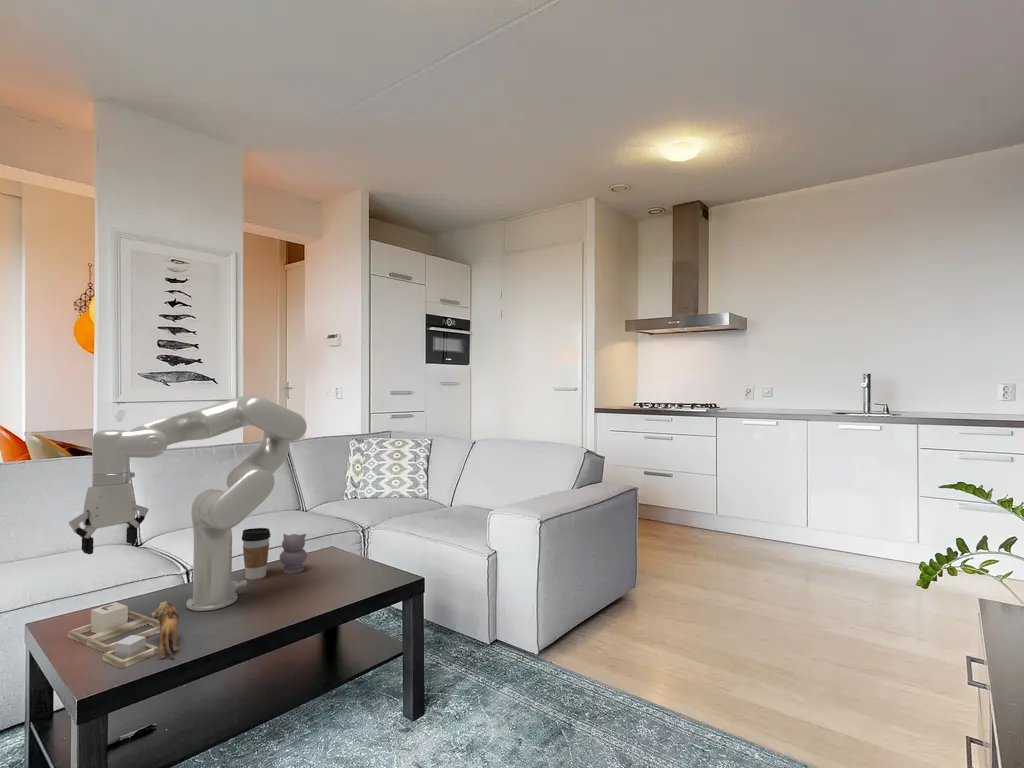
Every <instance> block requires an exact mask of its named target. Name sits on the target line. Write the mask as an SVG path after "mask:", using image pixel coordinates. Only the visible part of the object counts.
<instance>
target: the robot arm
mask: <svg viewBox="0 0 1024 768" xmlns="http://www.w3.org/2000/svg"><path fill="white" fill-rule="evenodd" d="M247 426H252V427H256V428H257V429H259V430H261V431H263V439H262V441H261V443H260V444H259V446H258V447H257V448H256V449H255V450H254V451H253V452H252V453H250V455H249V456H247V457H246V458H244V460H242V461H241V462H240V463H239V464H238V465H236V467H234V468H233V469H231V471H230V472H229V473H228V474H227V478H226V485H227V489H226V490H225V491H224V490H221V489H214V488H211V489H207V490H204V491H202V492H200V493H199V494H198V495H197V496H196V497H195V499H194V500H193V503H192V505H191V522H192V528H193V567H192V568H193V573H192V576H193V577H192V578H193V579H192V581H193V583H192V584H193V586H192V597H190V598H189V599H187V601H186V606H185V607H186V608H187V609H188V610H190V611H195V612H205V611H207V612H208V611H214V610H218V609H222V608H225V607H227V606H230V605H232V604H234V603H235V602H236V601H237V600H238V593H237V592H236V591H238V589H242V588H244V587H246V586H247V584H248V582H247V579H246V578H245V579H243V580H239V581H237V580H235V579H234V580H232V577H233V576H232V575H233V574H232V573H233V572H232V571H233V570H232V568H233V567H232V566H233V563H232V562H233V531H232V530H233V529H232V528H234V527H236V526H237V525H239V524H240V523H241V522H242V521H244V520H245V519H246V518H247V517H248V516H250V514H251V513H252V512H254V511H255V510H256V509H257V508H258V507H259V506H260V505H261V504H262V503H263V502H264V501H265V500H266V499H267V498H268V497H269V496H270V494H271V493H272V491H273V489H274V487H275V481H276V479H275V476H274V473H275V472H276V471H277V470H278V469H279V468H280V467H281V466H282V465H283V464H284V463H285V461H286V459H287V458H288V455H289V451H290V446H291V442H295V441H298V440H301V438H303V436H304V435H305V434H306V432H307V427H308V425H307V422H306V419H305V418H304V417H303V416H302V415H301V414H299V413H297V412H296V411H293V410H291V409H289V408H287V407H284V406H282V405H280V404H277V403H276V402H274V401H271V400H269V399H267V398H265V397H262V396H254V395H253V396H252V395H244V396H240V397H236V398H233V399H230V400H226V401H222V402H219V403H216V404H213V405H209V406H205V407H204V408H203V407H202V408H199V409H196V410H192V411H188V412H184V413H182V414H177V415H173V416H170V417H166V418H162V419H158V420H155V421H152V422H150V423H149V422H148V423H146V424H142V425H138V426H136V427H134V428H132V429H131V430H129V431H128V430H124V429H107V430H106V429H105V430H98V431H96V432H95V433H94V434H93V436H92V479H91V482H92V484H91V485H92V486H88V488H87V490H86V493H85V499H84V504H83V513H81V514H79V515H78V516H77V517H75V518H73V519H71V520H70V521H69V522H68V524H69V526H70V528H71V529H72V532H74V533H75V534H76V535H78V536H79V537H80V538H81V551H82V552H83V553H84V554H86V555H93V554H94V537H92V535H93V534H94V533H95V532H96V530H98V529H103V528H107V527H113V526H117V525H118V526H119V525H123V524H127V525H128V527H126V539H125V540H126V543H127V544H131V545H136V544H137V539H138V528H140V526H141V524H142V522H144V521H145V519H146V516H147V514H148V512H149V507H145V506H141V505H138V504H136V495H135V490H134V486H133V483H132V482H131V479H132V478H135V476H136V474H135V473H136V472H131V470H130V469H131V468H130V466H131V465H130V464H131V463H130V462H131V460H130V459H131V458H141V459H142V458H144V459H151V458H157V457H159V456H160V455H162V454H164V452H165V451H166V450H167V448H168V446H171V445H175V444H177V443H183V442H189V441H202V440H208V439H211V438H214V437H217V436H220V435H223V434H225V433H228V432H231V431H234V430H238V429H240V428H241V429H242V428H243V427H247ZM137 511H138V515H137ZM136 515H137V516H136ZM81 523H82V524H83V526H85V527H84V528H81V526H80V525H81Z"/></svg>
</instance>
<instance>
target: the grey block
mask: <svg viewBox="0 0 1024 768" xmlns="http://www.w3.org/2000/svg"><path fill="white" fill-rule="evenodd" d="M115 642H116V643H115ZM115 642H114V643H115V656H116V657H118V658H120V659H123V660H124V659H127V658H129V657H132V656H134V655H137V654H139V653H142V652H144V651H146V643H147V638H146V637H144V636H136V634H131V635H129V636H127V637H125V638H122V639H120V640H118V641H115Z"/></svg>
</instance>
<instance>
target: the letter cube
mask: <svg viewBox="0 0 1024 768" xmlns="http://www.w3.org/2000/svg"><path fill="white" fill-rule="evenodd" d="M128 611H129V606H128V605H126V604H122V603H119V602H118V601H117V602H116V601H115V602H112V603H108V604H106V605H103V606H100V607H99V606H98V607H96V608H93V609H91V610H90V624H91V631H90V632H91V633H93V632H94V633H93V634H95V633H96V634H98V633H101V632H104V631H106V630H109V629H112V628H115V627H118V626H121V625H124V624H126V623H129V622H128V621H129V620H128V619H129V618H128Z"/></svg>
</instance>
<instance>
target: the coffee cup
mask: <svg viewBox="0 0 1024 768" xmlns="http://www.w3.org/2000/svg"><path fill="white" fill-rule="evenodd" d="M271 535H272V534H271V531H270V529H269V528H266V527H257V528H256V527H255V528H254V527H253V528H246V529H243V531H242V535H241V541H243V542H242V544H243V545H242V552H243V562H244V571H245V572H244V573H245V580H259V579H263V578H264V577H266V575H267V569H268V568H267V567H268V565H267V564H268V560H269V550H270V549H269V548H270V538H271Z"/></svg>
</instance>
